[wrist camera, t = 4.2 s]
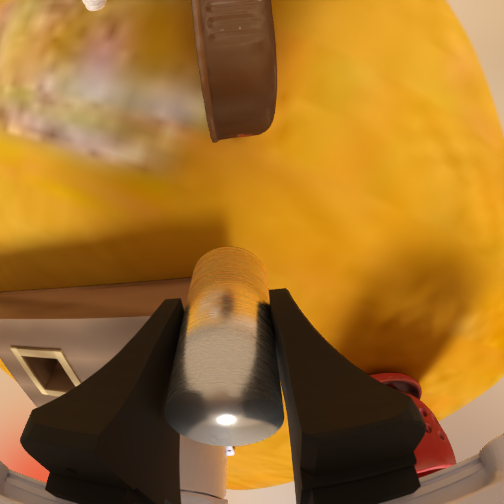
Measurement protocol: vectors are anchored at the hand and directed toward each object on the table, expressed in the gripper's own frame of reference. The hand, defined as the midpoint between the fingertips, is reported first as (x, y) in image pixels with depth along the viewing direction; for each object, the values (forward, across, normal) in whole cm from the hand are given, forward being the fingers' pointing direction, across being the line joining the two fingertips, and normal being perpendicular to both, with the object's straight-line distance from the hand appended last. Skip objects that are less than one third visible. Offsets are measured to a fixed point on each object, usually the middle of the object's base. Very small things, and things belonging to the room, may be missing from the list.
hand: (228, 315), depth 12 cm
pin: (+2, 0, 0) cm, 2 cm away
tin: (+10, -1, -13) cm, 16 cm away
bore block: (+9, +12, +10) cm, 18 cm away
